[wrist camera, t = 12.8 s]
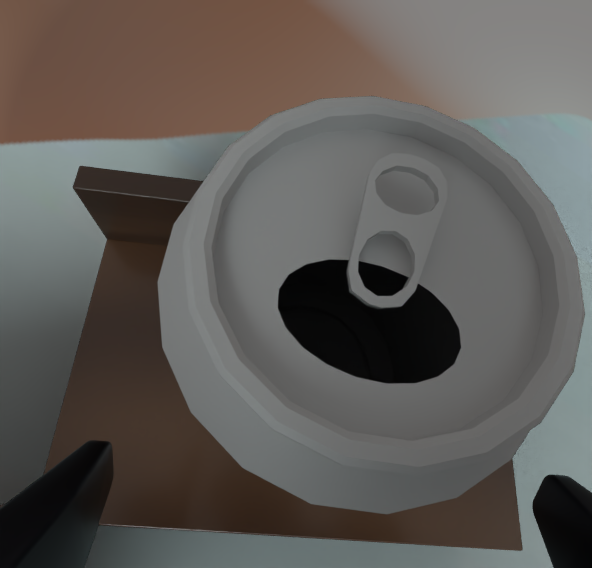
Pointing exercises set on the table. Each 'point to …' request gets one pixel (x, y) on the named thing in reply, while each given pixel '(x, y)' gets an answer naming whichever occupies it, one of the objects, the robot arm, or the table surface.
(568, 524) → the robot arm
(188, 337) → the can
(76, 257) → the table surface
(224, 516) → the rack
